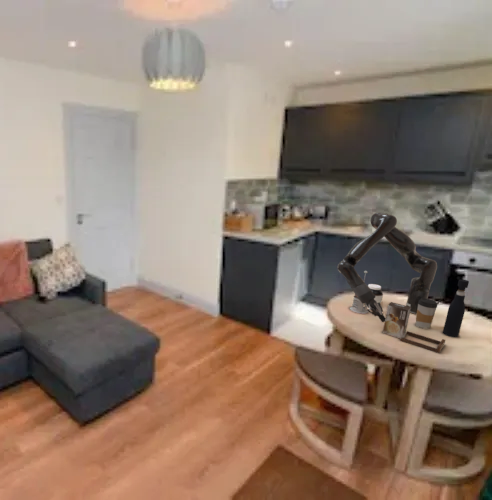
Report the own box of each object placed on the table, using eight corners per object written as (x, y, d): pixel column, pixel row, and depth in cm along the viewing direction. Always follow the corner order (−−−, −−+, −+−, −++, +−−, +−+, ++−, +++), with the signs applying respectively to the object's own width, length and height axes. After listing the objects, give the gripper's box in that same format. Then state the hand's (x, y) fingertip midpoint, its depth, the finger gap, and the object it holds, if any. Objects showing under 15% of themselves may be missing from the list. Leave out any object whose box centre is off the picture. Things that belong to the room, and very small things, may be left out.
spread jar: (383, 306, 226) (386, 288, 223) (367, 307, 224) (370, 289, 221) (368, 298, 237) (371, 281, 234) (352, 299, 235) (355, 282, 232)
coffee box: (405, 335, 190) (412, 307, 185) (402, 339, 186) (408, 310, 181) (385, 329, 196) (391, 301, 192) (381, 333, 192) (387, 304, 188)
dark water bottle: (439, 331, 194) (452, 278, 186) (450, 331, 194) (463, 278, 187) (450, 337, 188) (464, 282, 180) (461, 337, 188) (476, 282, 180)
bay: (406, 333, 192) (407, 328, 191) (444, 345, 180) (445, 339, 180) (400, 340, 185) (401, 335, 184) (439, 353, 173) (440, 347, 172)
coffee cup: (435, 330, 195) (441, 304, 191) (417, 329, 197) (423, 303, 193) (426, 323, 203) (432, 298, 199) (410, 322, 204) (415, 297, 201)
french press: (361, 306, 224) (368, 268, 218) (374, 315, 213) (381, 274, 207) (346, 306, 224) (352, 268, 218) (357, 315, 213) (364, 274, 206)
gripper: (365, 292, 192) (387, 322, 186) (374, 287, 200) (395, 315, 195) (352, 299, 197) (374, 327, 192) (361, 293, 206) (382, 320, 200)
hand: (384, 321), depth 193 cm, fingers closed
